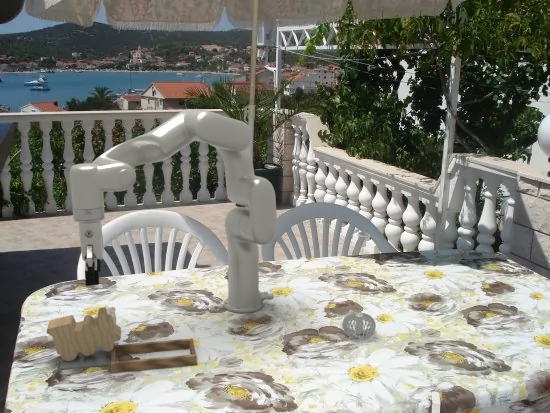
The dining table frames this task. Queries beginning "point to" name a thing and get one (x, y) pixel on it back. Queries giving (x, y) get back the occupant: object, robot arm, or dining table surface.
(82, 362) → the slate mat
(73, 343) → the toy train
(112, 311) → the stone
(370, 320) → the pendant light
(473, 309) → the dining table surface
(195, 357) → the pocket frame
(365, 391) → the dining table surface
